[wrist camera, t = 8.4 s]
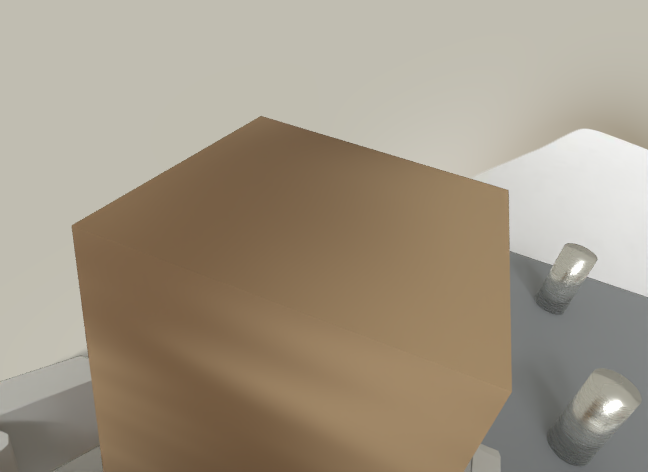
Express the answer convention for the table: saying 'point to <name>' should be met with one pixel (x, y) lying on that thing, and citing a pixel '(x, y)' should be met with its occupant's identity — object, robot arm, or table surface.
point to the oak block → (297, 311)
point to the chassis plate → (569, 370)
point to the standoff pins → (602, 385)
